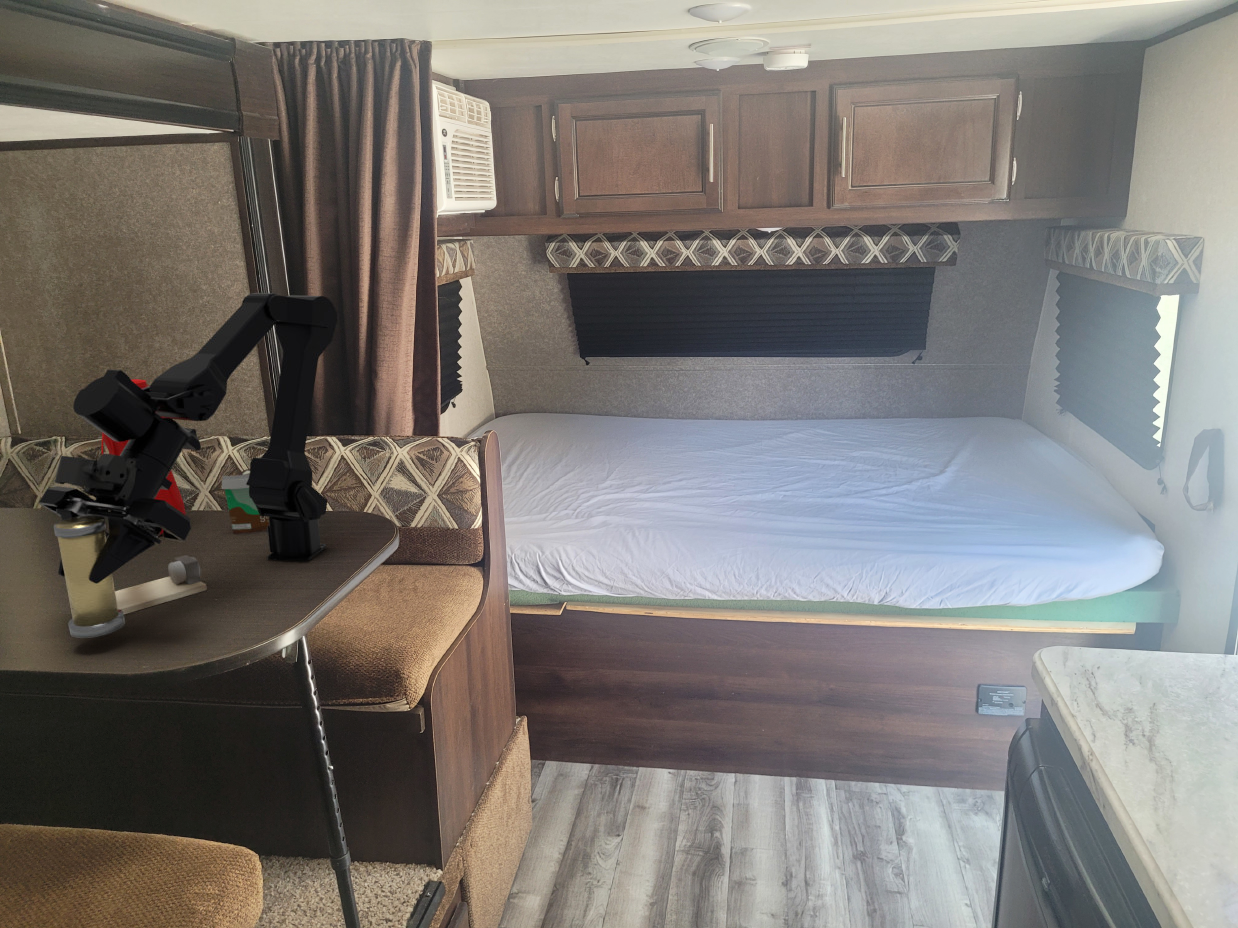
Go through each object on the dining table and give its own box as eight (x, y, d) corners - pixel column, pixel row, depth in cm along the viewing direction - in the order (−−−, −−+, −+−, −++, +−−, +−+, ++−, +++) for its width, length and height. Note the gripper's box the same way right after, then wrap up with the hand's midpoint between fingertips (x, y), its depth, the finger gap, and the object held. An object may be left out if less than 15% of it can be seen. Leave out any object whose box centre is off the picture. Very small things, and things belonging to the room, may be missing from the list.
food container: (262, 538, 141) (255, 478, 138) (227, 536, 142) (220, 476, 139) (302, 515, 152) (296, 459, 150) (270, 513, 153) (263, 458, 151)
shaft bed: (186, 577, 124) (183, 551, 123) (209, 589, 120) (205, 563, 119) (72, 609, 114) (67, 581, 113) (92, 623, 109) (87, 595, 108)
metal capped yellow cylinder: (135, 618, 105) (118, 515, 102) (103, 639, 100) (84, 530, 97) (92, 616, 106) (74, 514, 103) (58, 636, 101) (38, 529, 97)
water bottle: (98, 537, 142) (72, 384, 136) (160, 518, 151) (139, 374, 145) (134, 545, 138) (110, 388, 131) (195, 526, 147) (175, 378, 141)
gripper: (40, 420, 104) (-39, 538, 97) (155, 431, 97) (79, 559, 90) (110, 468, 113) (43, 579, 106) (220, 481, 106) (156, 601, 99)
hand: (77, 579), depth 100 cm, fingers closed on metal capped yellow cylinder, 5 cm apart
